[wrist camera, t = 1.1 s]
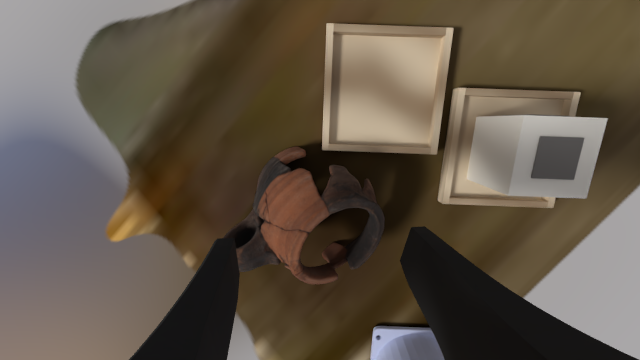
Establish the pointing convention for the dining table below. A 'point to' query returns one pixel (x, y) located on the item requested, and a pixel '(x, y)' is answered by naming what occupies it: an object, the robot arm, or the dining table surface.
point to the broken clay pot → (303, 219)
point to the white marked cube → (536, 154)
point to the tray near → (384, 87)
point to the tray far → (462, 130)
